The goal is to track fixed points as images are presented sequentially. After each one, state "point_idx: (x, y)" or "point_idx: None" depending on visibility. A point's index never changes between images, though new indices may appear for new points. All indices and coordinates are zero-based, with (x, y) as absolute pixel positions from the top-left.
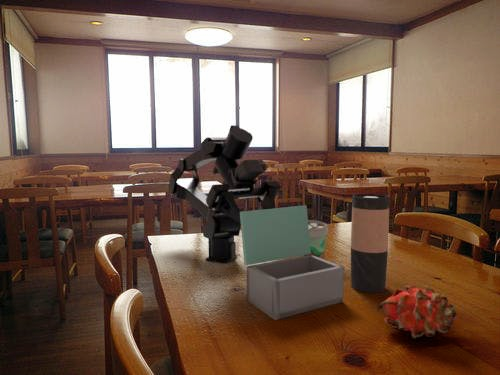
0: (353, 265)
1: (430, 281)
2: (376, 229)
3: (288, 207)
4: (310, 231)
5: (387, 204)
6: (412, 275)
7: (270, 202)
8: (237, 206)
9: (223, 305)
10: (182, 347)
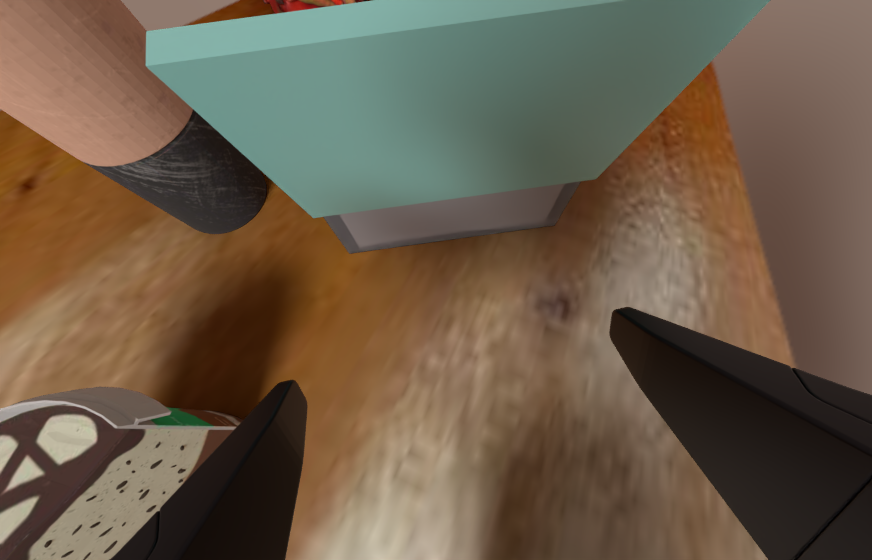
0: (227, 157)
1: (65, 176)
2: None
3: (338, 6)
4: (103, 403)
5: None
6: (51, 221)
7: (195, 544)
8: (772, 397)
9: (619, 220)
10: (718, 95)
